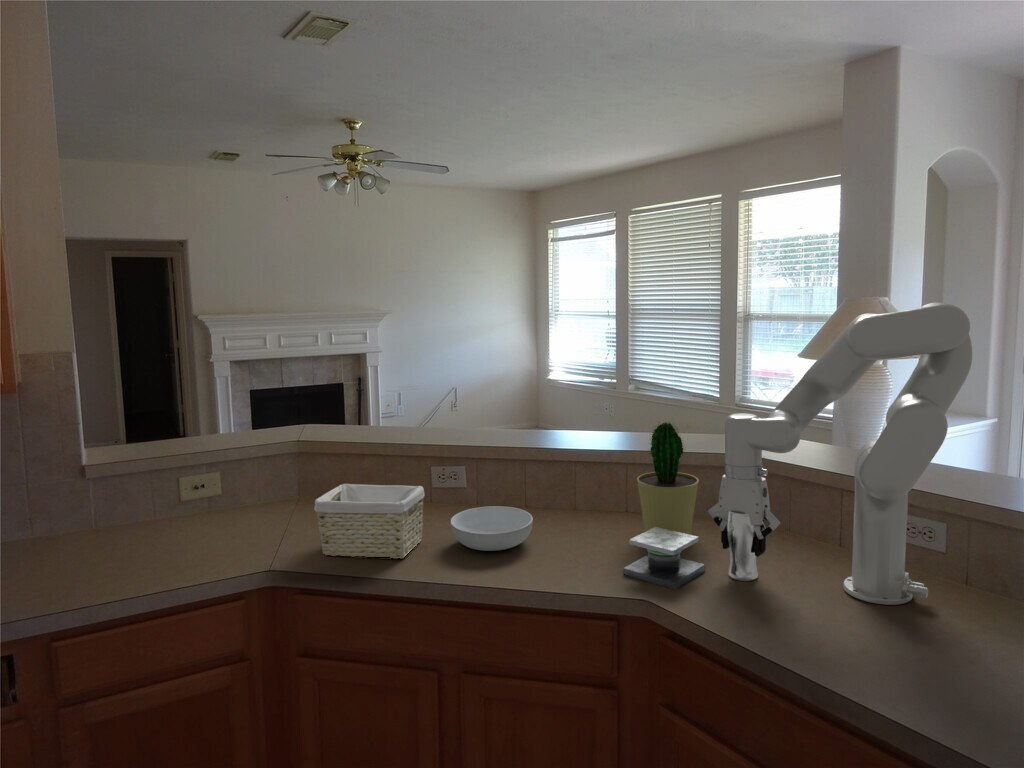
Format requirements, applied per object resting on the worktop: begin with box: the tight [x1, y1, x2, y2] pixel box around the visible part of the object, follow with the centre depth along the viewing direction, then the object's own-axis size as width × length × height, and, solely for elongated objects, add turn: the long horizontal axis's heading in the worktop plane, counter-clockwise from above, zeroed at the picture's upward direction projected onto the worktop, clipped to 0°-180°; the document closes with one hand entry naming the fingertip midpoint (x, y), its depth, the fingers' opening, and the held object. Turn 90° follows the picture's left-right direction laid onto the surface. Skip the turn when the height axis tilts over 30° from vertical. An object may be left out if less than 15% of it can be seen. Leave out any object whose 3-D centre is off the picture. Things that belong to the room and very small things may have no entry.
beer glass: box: [726, 510, 759, 582], centre depth 154 cm, size 7×7×15 cm
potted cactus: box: [636, 421, 700, 535], centre depth 181 cm, size 15×15×30 cm
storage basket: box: [313, 483, 426, 559], centre depth 179 cm, size 24×16×15 cm
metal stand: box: [622, 527, 706, 591], centre depth 158 cm, size 13×13×8 cm
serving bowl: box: [450, 505, 534, 552], centre depth 179 cm, size 21×21×7 cm
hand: (743, 550), depth 155 cm, fingers closed on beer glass, 6 cm apart
